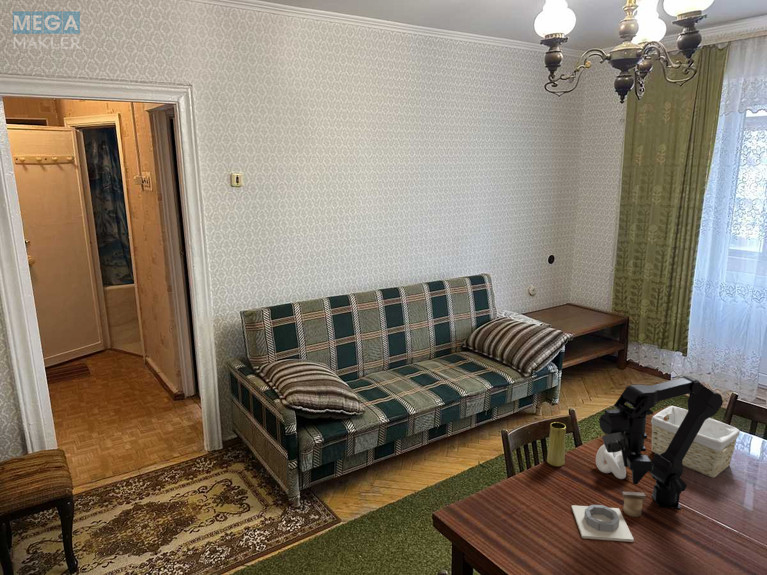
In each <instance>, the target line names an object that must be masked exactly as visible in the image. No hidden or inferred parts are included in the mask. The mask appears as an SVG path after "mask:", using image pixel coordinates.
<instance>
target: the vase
mask: <svg viewBox="0 0 767 575" xmlns="http://www.w3.org/2000/svg"><path fill="white" fill-rule="evenodd" d="M566 433H567V426H566V424H565V423H562V422H559V421H554V422H551V423H550V425H549V436H548V438H549V439H548V449H547V456H546V457H547V458H546V462H547V463H548V464H549V465H551V466H553V467H562V466H564V465H565V464H566V463H565V457H566V456H565V455H566V435H567V434H566Z"/></svg>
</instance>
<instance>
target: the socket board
mask: <svg viewBox="0 0 767 575" xmlns="http://www.w3.org/2000/svg"><path fill="white" fill-rule="evenodd" d="M571 511H572V513H573V516H574V520H575V522H576V526H577V527H578V530H579V533H580V536H581V538H582V539H591V540H603V541H615V542H618V541H619V542H631V543H633V542H635V539H634V536H633V534H632V532H631V531H630V529H629V526H628V525H627V524H628V523H627V522H626V519H625V518H624V516H623V513H622V512H621V509H620V508H619V507H618V508H617V507H608V506H606V505H602V504H590V505H589V506H588V505H576V504H575V505H574V504H573V505H571Z"/></svg>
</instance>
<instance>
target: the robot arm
mask: <svg viewBox="0 0 767 575" xmlns="http://www.w3.org/2000/svg"><path fill="white" fill-rule="evenodd" d="M684 395H688V399H687V400H686V401H687V410H688V412H687V414H686V416H685V418H684V420H683V421H682V423H681V425H680V427H679V428H678V430H677V432H676V434H675V436H674V437H673V439H672V441H671V443H670V445H669V446H668V448H667V450H666V451H665V452H664V453H662V454H660V455H659V454H658V453H654V455H653V458H652V459H651V458H650V457H649V456H648V455H647V454H642V452H646V451H647V450H646V449H647V448H646V446H645V440H647V439H648V435H647V433H646V424H647V416H650V415H653V414H654V411H652V410H651V409H652V408H654V407H655V406H656V405H657V404H658V403H659V402H661V401H666V400H669V399H674V398H677V397H681V396H684ZM627 404H628V405H627ZM723 404H724V400H723V396H722V395H721V394H720V393H719V392H716V391H714V390H712V389H710V388H708V387H706V386H705V385H703V383H702V382H700V380H698V379H695V378H693V377H692V376H689V375H683V376H681V377H680V378H679V377H678V378H675V379H672V380H668V381H667V380H666V381H664V382H660V383H657V384H656V383H655V384H652V385H647V384H630V385H627V386H626V387H625V389H624V390H623V392H622V393H621V395H620V396H619V397H618V398H617V400H616V402H615V403H614V405H613V406H614V407H615V408H616V409H606V410H604V413H603V414H601V415H600V417H599V418H598V421H599V422H598V423H599V428H600V429H601V431H602V432H603V433H604V435H602V437H601V439H602V442H603V445H605V447H606V449H607V452H609V453H612V452H613V453H614V452H618V451H621V452H622V457H623V463H624V466H625V467H626V468H628V469H629V470H630V471H631V478H632V484H633V485H638V483H640V481H641V480H642V479H644V478H643V477H644V476H646V474H647V473H650V475H651V477H652V479H653V480H655V485H653V489H652V490H653V491H652V494H651V497H652V498H653V500H654V502H655V503H656V505H657V506H658V508H665V509H666V508H667V509H682V506H681V505H680V496H681V494H682V492H685V491H686V488H687V487H688V484H687V483H686V482H685V481H684V480H683V479H682V475H683V472H684V465H682V461H683V458H684V457H685V455H686V453H687V451H688V450H689V448H690V446H691V444H692V442H693V441H694V439H695V437H696V435H697V434H698V432H699V430H700V428H701V427H702V425H703V423H704V421H705V420H706V419H708V418H712V417H713V416H715V415H716V414H717V413H718V411H719V410H720V409H721V407H722V406H723ZM629 406H631V407H629Z"/></svg>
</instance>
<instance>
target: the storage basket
mask: <svg viewBox="0 0 767 575" xmlns="http://www.w3.org/2000/svg"><path fill="white" fill-rule="evenodd" d="M687 412H688V409H685V408H684V407H683V408H681V407H678V406H674V405H670V406H668V407H665V408H664V409H662V410H660V411H659V412H657V413H655V414H654V415H653V416H652V417H651V420H650V424H651V451H652V453H654V454H656V453H658V454H659V455H660V454H662V453H664V452H665V451H666V450H667V448H668V446H669V445H670V443H671V441H672V439H673V437H674V436H675V434H676V432H677V430H678V428H679V427H680V425H681V423H682V421H683V420H684V418H685V416H686V414H687ZM665 418H666V420H665ZM738 437H740V429H738V428H737V427H735V426H732V425H729V424H727V423H724V422H722V421H719V420H716V419H714V418H712V417H710V418H708V419H706V420H705V421H704V423H703V425H702V427H701V428H700V430H699V432H698V434H697V435H696V437H695V439H694V441H693V442H692V444H691V446H690V448H689V450H688V451H687V453H686V455H685V457H684V458H683V461H682V465H683V467H685V468H688V469H690V470H692V471H696V472H698V473H701V474H703V475H704V476H705V475H706V476H708V477H710V478H716V477H717V476H719V475H720V473H722V472H723V471H725V470H726V469H727V468H728V467H729V466H730V464H731V463H732V458H733V455H734V451H735V448H736V443H737V439H738Z"/></svg>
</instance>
